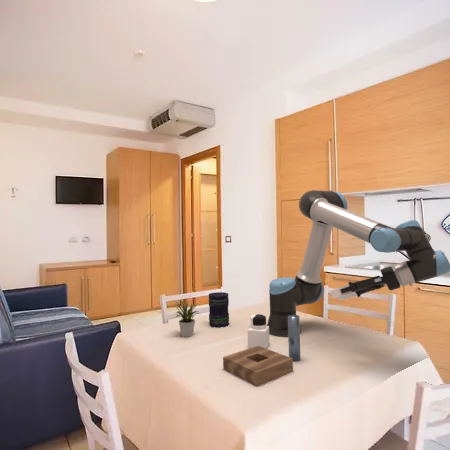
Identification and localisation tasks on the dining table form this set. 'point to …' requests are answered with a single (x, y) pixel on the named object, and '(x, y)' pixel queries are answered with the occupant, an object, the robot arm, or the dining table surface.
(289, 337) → the pin
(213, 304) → the storage jar
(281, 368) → the socket block
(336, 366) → the dining table surface
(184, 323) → the house plant
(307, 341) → the dining table surface
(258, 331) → the medicine bottle
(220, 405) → the dining table surface
